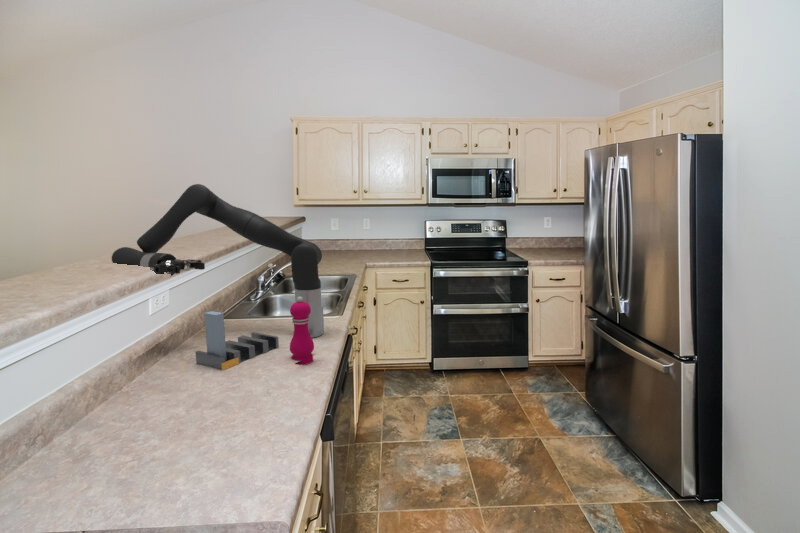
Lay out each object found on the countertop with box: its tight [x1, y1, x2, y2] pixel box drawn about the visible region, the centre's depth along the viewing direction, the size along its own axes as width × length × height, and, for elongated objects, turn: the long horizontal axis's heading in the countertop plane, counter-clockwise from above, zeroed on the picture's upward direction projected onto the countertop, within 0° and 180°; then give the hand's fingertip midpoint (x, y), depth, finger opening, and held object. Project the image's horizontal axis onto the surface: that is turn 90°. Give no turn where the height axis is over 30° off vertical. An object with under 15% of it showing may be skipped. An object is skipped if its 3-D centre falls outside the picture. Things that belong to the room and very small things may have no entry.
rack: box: [195, 331, 280, 371], centre depth 138 cm, size 22×11×5 cm, turn 151°
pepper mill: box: [289, 297, 315, 366], centre depth 135 cm, size 7×7×20 cm
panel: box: [204, 310, 227, 361], centre depth 130 cm, size 2×5×15 cm, turn 61°
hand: (191, 267), depth 138 cm, fingers open, 8 cm apart
